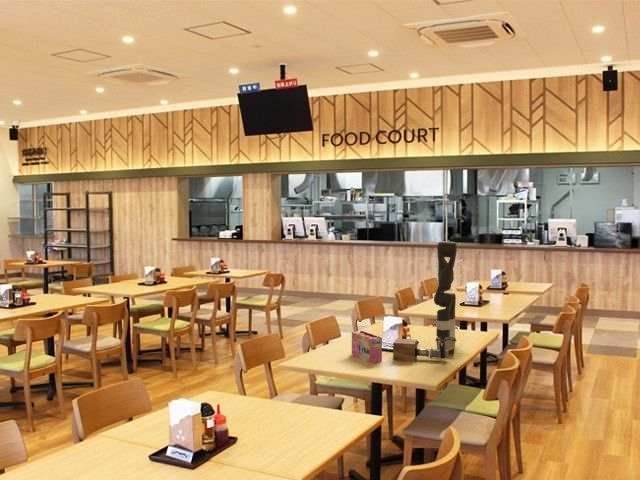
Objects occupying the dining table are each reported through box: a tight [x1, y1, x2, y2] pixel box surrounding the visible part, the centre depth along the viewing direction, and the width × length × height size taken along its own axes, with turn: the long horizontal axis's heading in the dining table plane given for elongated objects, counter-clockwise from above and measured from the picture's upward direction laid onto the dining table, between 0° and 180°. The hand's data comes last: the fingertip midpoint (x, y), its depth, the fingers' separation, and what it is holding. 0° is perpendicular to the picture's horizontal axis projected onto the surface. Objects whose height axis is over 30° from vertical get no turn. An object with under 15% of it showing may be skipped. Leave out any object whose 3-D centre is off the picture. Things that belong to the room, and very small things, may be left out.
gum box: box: [351, 330, 383, 363], centre depth 384 cm, size 24×8×14 cm, turn 26°
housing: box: [392, 338, 418, 363], centre depth 381 cm, size 12×12×10 cm
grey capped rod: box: [415, 347, 449, 359], centre depth 377 cm, size 6×19×6 cm, turn 73°
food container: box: [434, 336, 457, 356], centre depth 392 cm, size 12×6×10 cm, turn 84°
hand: (442, 357), depth 375 cm, fingers closed on grey capped rod, 3 cm apart
